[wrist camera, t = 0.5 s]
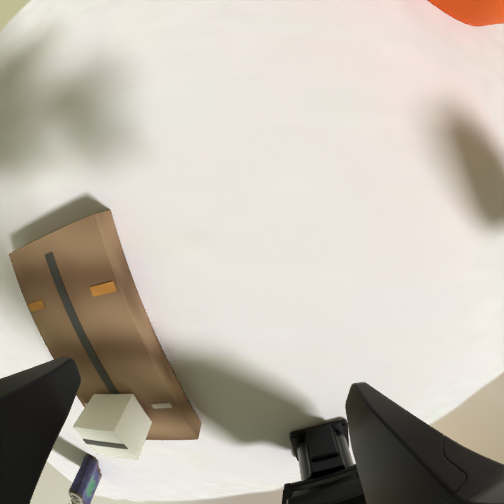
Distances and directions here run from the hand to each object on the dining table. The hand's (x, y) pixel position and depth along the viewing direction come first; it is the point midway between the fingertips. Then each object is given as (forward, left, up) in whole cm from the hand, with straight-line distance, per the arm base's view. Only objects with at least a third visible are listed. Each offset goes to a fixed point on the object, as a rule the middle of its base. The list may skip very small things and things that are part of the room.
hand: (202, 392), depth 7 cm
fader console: (-5, +15, -14) cm, 21 cm away
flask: (-29, +35, -14) cm, 47 cm away
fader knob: (-11, +15, -11) cm, 21 cm away
